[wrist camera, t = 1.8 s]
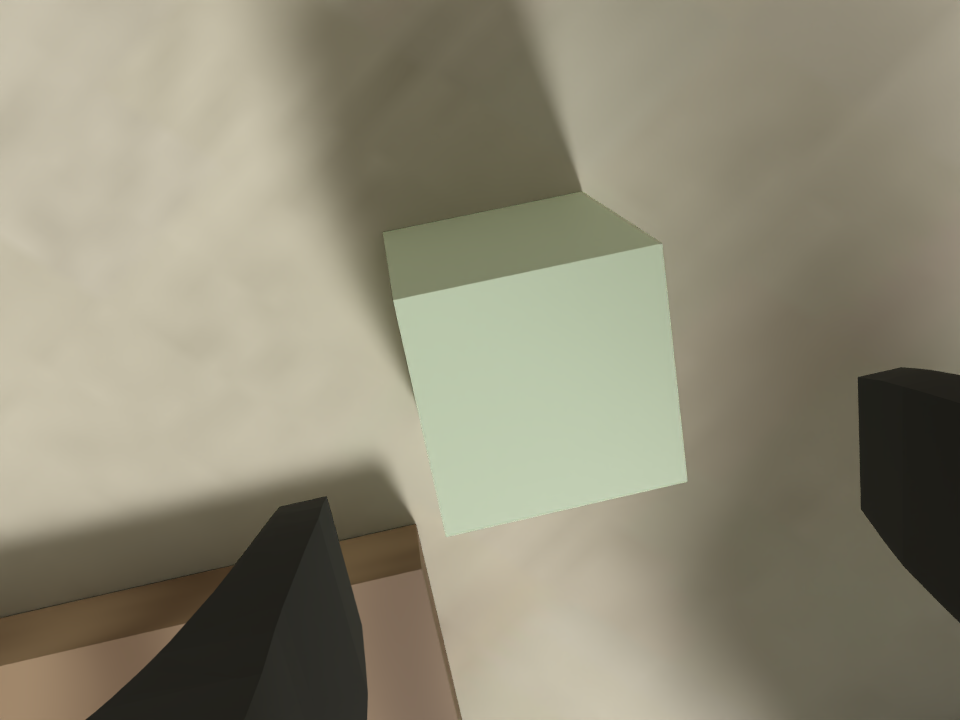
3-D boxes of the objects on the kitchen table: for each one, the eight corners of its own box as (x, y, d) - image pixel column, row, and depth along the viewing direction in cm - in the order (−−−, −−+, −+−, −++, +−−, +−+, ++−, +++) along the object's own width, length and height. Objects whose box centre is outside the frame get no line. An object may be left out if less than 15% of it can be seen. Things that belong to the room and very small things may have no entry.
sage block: (581, 191, 20) (662, 243, 15) (606, 375, 21) (687, 481, 16) (382, 232, 19) (392, 300, 14) (423, 416, 21) (445, 537, 16)
